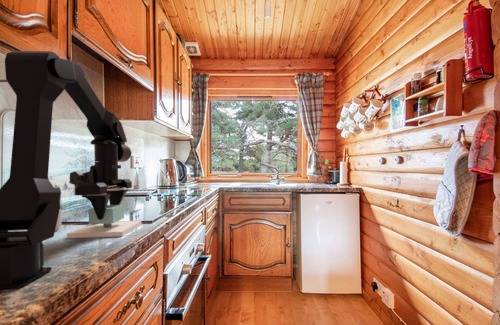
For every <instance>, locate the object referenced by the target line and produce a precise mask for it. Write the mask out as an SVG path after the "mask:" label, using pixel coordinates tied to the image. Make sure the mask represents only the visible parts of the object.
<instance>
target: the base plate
mask: <svg viewBox="0 0 500 325" xmlns="http://www.w3.org/2000/svg"><path fill="white" fill-rule="evenodd" d="M140 226H142V220H130V221H129V220H126V221H125V220H124V221H123V220H119V221H117V222H115V223H110V224H89V223H88V224H87V225H85V226H82V227H79V228H77V229H75V230H73V231H70V232H67V233H66V238H67V239H77V238H78V239H79V238H111V237H125V235H127V234H129V233H130V232H132V231H134V230H135V229H137V228H139V227H140Z"/></svg>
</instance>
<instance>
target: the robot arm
mask: <svg viewBox="0 0 500 325" xmlns="http://www.w3.org/2000/svg"><path fill="white" fill-rule="evenodd" d="M4 69H5V70H4V71H5V80H6V82H7V84H8V85H9V87H10V88H11V89H12V91H13V93H14V94H15V95H16V100H15V113H14V122H13V123H14V124H13V136H12V146H11V147H12V148H11V159H10V169H9V170H10V171H9V172H10V173H9V177H8V179H7V180H6V181H5V182H4V183H3V185H2V186H1V187H0V289H20V288H23V287H24V286H26V285H28V284H30V283H31V282H33V281H34V280H36V279H38V278H40V277H42V276H43V275H46V274H47V273H49V272H51V271H52V267H51V266H44V263H45V262H44V243H43V242H44V241H47V240H49V239H52V238H53V237H54V236H55V234H56V233H55V232H56V231H55V228H56V224H57V220H58V215H59V210H60V209H61V210H62V206H61V207H60V196H61V197H62V191H61V189H60V187H54V185H53V184H52V182H51V181H50V179H49V166H50V165H49V164H50V152H51V149H50V148H51V139H52V137H51V136H52V135H51V134H52V122H53V109H54V102H55V101H56V100H57V99H58V97H60V95H61V94H62V93H63V92H66V93H67V95H68V96H69V97H70V98H71V99H72V101H73V102H74V104H75V105H76V106H77V107H78V109H79V110H80V111H81V113H82V114H83V115H84V117H85V119H86V120H87V121H86V128H87V129H88V131H89V133H90V134H91V136H92V137H93V138H94V139H91V141H90V144H91V145H93V148H94V150H93V152H94V165H90V167H89V171H85V172H81V171H79V170H75V171H72V172H70V173H69V184H71V185H74V195H75V196H81V197H82V198H84V199H87V200H88V201H89V202H90V204H91V206H92V208H94V211H95V213H96V216H97V218H98V220H102V219H103V217H104V214H105V211H106V207H107V205H122V204H121V203H122V202H123V199H124V197H125V196H126V194H127V192H128V191H129V189H131V188H133V186H132V185H133V182H132V180H130V178H123V179H122V178H119V169H122V165H121V164H119V163H121V162H122V163H123V162H127V161H128V160H130V159H131V157H132V150H131V148H130V147H129V146H128V145H127V144H126V143H127V142H128V139H127V137H126V133H125V130H124V127H123V123H122V121H120V119H119V118H118V117H117V116H116V115H115V114H114V113H113V112H112V111H110V110H108V109H106V108H105V106H104V105H103V104H102V102H101V101H100V99H99V97H98V95H97V94H96V93H95V91H94V90H93V87H91V85H90V84H89V81H88V80H87V78H86V77H85V72H84V69H83V68H82V67H81V66H80V65H79V64H76V63H74V61H73V60H68V59H66V58H65V59H64V58H60V56H59V55H58V54H57V53H56V52H53V51H51V50H50V51H49V50H48V51H47V50H46V51H45V50H12V51H9V52H7V53H6V55H5V58H4ZM108 203H109V204H108ZM27 230H28V231H27Z"/></svg>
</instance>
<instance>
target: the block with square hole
mask: <svg viewBox="0 0 500 325" xmlns="http://www.w3.org/2000/svg"><path fill="white" fill-rule="evenodd" d="M123 219H125V204H120V205H110V204H107V207H106V211H105V214H104V217H103V219H102V220H98V218H97V216H96V213H95V211H94V208H93V207H92V208H89V209H88V225H89V224H110V223H115V222H117V221H122V220H123Z"/></svg>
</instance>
